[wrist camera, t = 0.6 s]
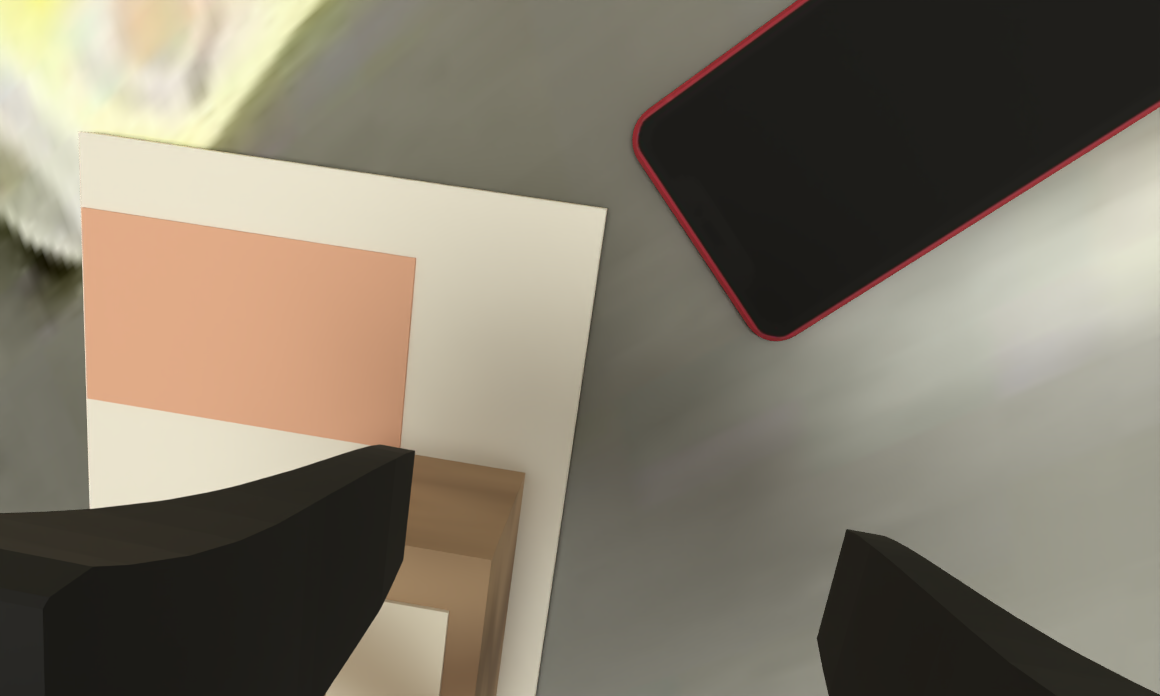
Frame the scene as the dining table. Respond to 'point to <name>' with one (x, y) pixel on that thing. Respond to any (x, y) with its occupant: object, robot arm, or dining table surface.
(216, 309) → the mat
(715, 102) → the smartphone
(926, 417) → the dining table surface
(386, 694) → the card box
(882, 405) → the dining table surface
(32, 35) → the dining table surface
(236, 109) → the dining table surface
